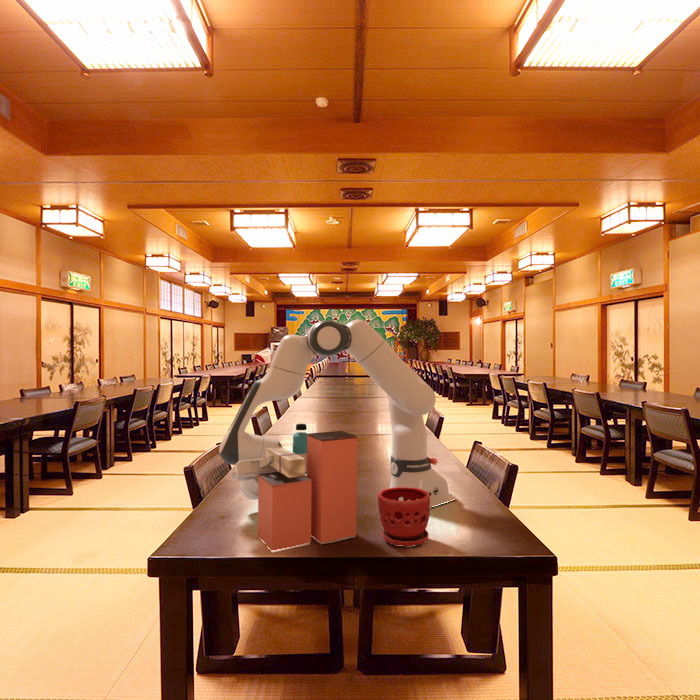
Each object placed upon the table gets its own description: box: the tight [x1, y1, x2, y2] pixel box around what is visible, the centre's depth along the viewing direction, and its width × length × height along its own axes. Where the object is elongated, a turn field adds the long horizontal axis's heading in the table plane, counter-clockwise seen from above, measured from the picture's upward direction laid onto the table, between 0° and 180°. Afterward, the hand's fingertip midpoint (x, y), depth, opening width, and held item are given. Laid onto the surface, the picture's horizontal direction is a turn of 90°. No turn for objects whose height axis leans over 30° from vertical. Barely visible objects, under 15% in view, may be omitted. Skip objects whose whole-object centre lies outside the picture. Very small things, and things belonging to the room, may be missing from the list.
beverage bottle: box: [291, 423, 308, 475], centre depth 174 cm, size 6×7×20 cm
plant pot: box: [377, 487, 431, 546], centre depth 116 cm, size 13×13×12 cm
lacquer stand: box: [257, 430, 358, 550], centre depth 117 cm, size 22×12×26 cm, turn 118°
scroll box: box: [266, 446, 306, 478], centre depth 115 cm, size 4×17×4 cm, turn 28°
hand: (281, 457), depth 117 cm, fingers closed on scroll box, 4 cm apart
